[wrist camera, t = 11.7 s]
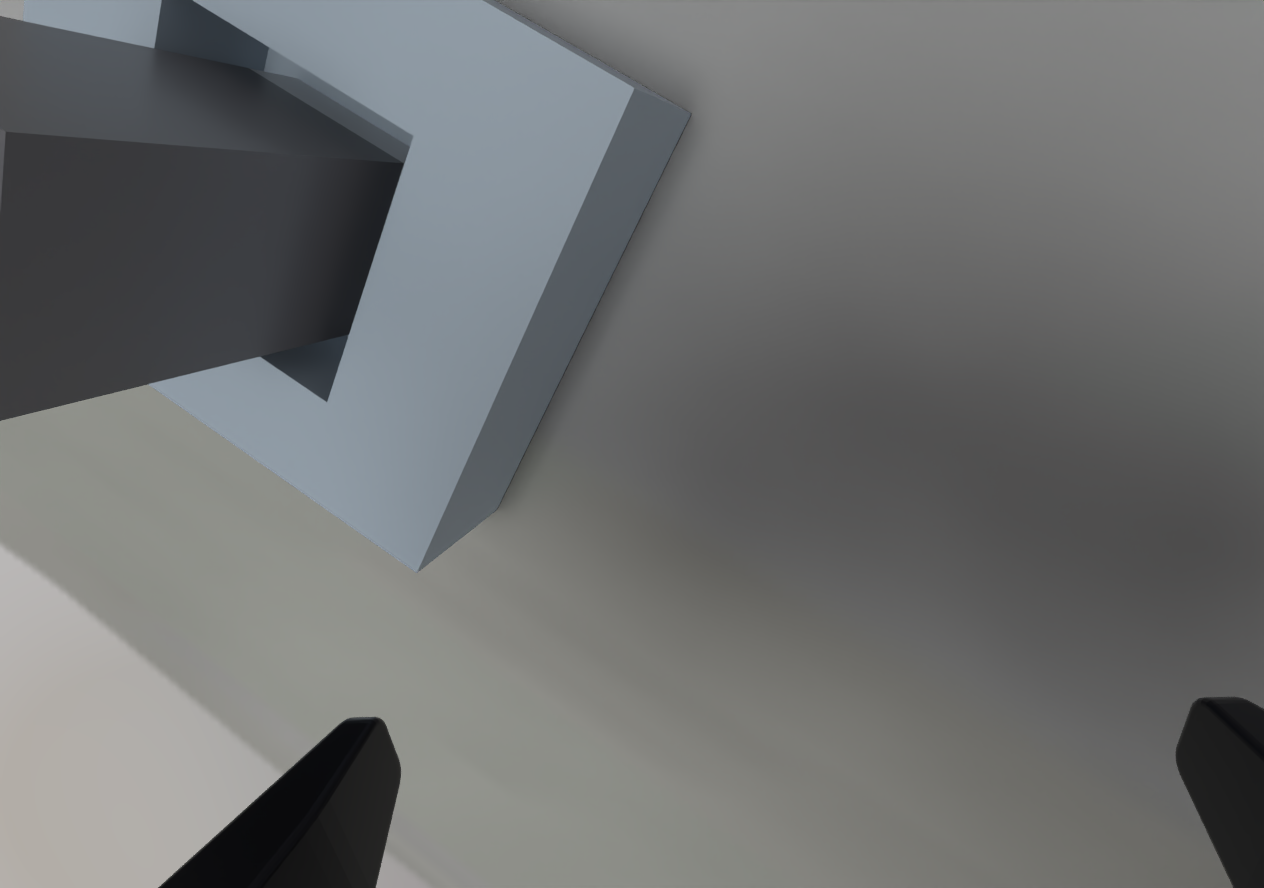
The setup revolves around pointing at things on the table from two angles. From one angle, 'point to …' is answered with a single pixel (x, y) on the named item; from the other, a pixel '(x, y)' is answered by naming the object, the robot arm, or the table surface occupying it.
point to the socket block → (427, 245)
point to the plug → (171, 214)
